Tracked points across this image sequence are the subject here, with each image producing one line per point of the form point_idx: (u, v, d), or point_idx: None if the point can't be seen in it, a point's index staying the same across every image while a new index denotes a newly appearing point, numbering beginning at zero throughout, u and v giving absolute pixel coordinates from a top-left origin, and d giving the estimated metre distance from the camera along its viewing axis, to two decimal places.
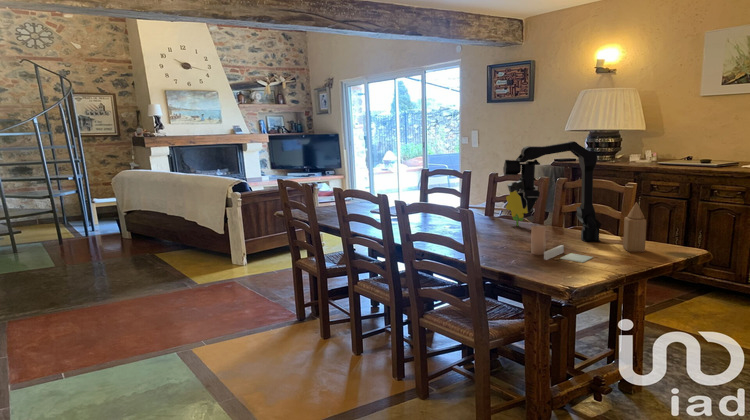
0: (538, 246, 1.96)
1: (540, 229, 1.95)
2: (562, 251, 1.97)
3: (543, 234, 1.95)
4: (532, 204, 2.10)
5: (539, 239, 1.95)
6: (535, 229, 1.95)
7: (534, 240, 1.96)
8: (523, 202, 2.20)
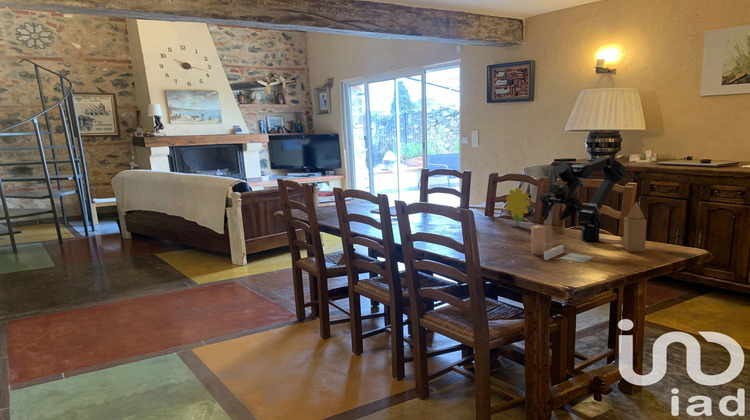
0: (538, 246, 1.96)
1: (540, 229, 1.95)
2: (562, 251, 1.97)
3: (543, 234, 1.95)
4: (567, 215, 1.97)
5: (539, 239, 1.95)
6: (535, 229, 1.95)
7: (534, 240, 1.96)
8: (544, 211, 2.05)
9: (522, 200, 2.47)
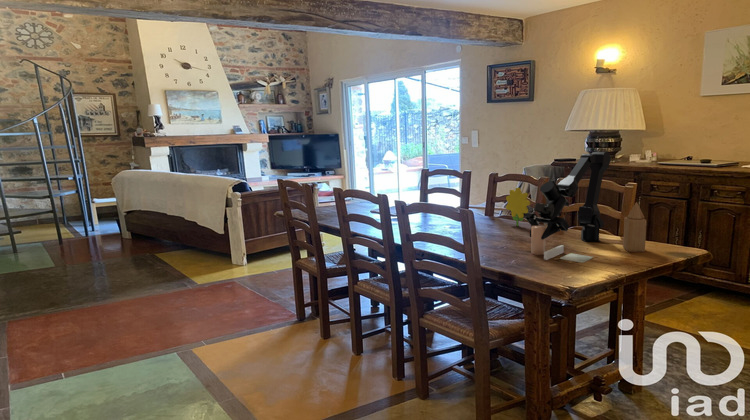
0: (538, 246, 1.96)
1: (540, 229, 1.95)
2: (562, 251, 1.97)
3: None
4: (549, 234, 1.95)
5: (539, 239, 1.95)
6: (535, 229, 1.95)
7: (534, 240, 1.96)
8: None
9: (522, 200, 2.47)
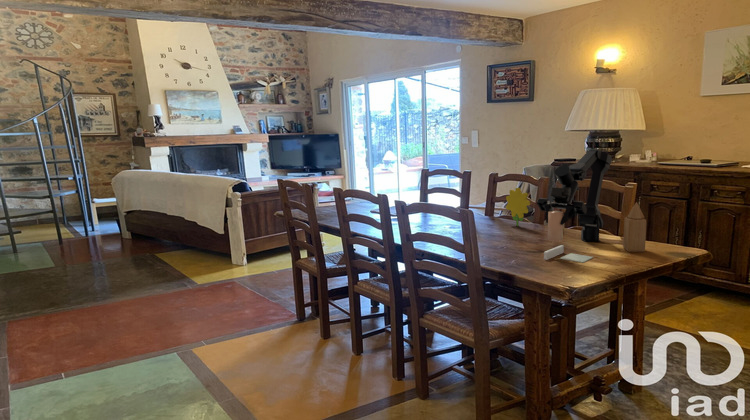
0: (557, 232, 1.89)
1: (559, 214, 1.88)
2: (562, 251, 1.97)
3: (561, 219, 1.89)
4: (567, 219, 1.89)
5: (558, 224, 1.89)
6: (554, 214, 1.89)
7: (552, 226, 1.90)
8: None
9: (522, 200, 2.48)
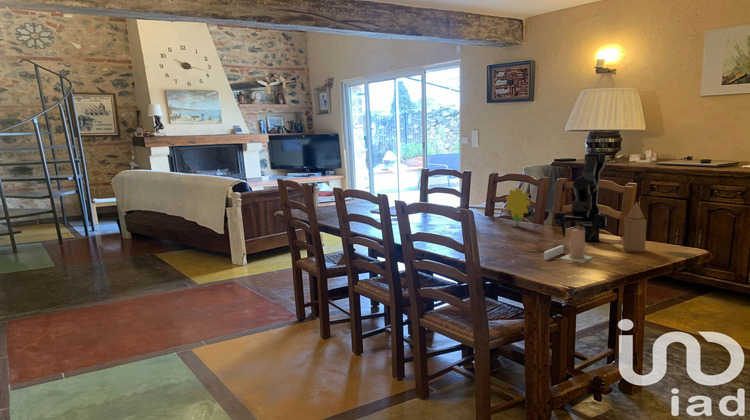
0: (581, 250, 1.86)
1: (583, 232, 1.85)
2: (562, 251, 1.97)
3: (584, 237, 1.86)
4: (594, 233, 1.86)
5: (581, 242, 1.85)
6: (578, 232, 1.85)
7: (576, 244, 1.86)
8: (565, 230, 1.90)
9: (522, 200, 2.47)
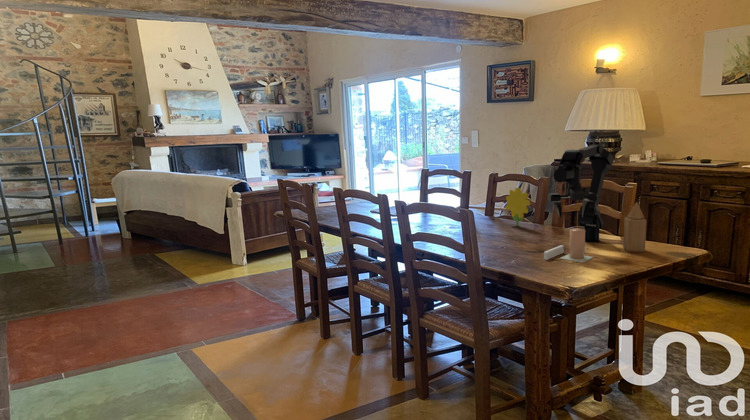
0: (581, 250, 1.86)
1: (583, 232, 1.85)
2: (562, 251, 1.97)
3: (584, 237, 1.86)
4: None
5: (581, 242, 1.85)
6: (578, 232, 1.85)
7: (576, 244, 1.86)
8: None
9: (522, 200, 2.48)
